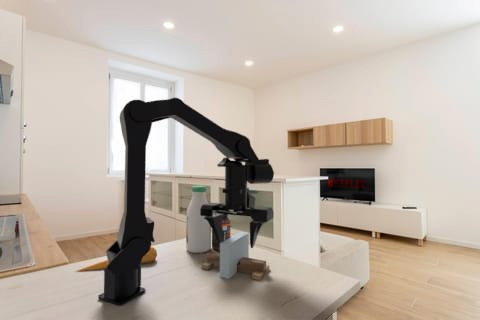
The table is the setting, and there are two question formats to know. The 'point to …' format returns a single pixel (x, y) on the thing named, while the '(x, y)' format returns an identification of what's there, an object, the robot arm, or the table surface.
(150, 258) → the carrot
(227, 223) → the supplement bottle
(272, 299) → the table surface
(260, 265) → the walnut crossed blocks
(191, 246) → the green-capped white bottle
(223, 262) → the pale blue flat block
